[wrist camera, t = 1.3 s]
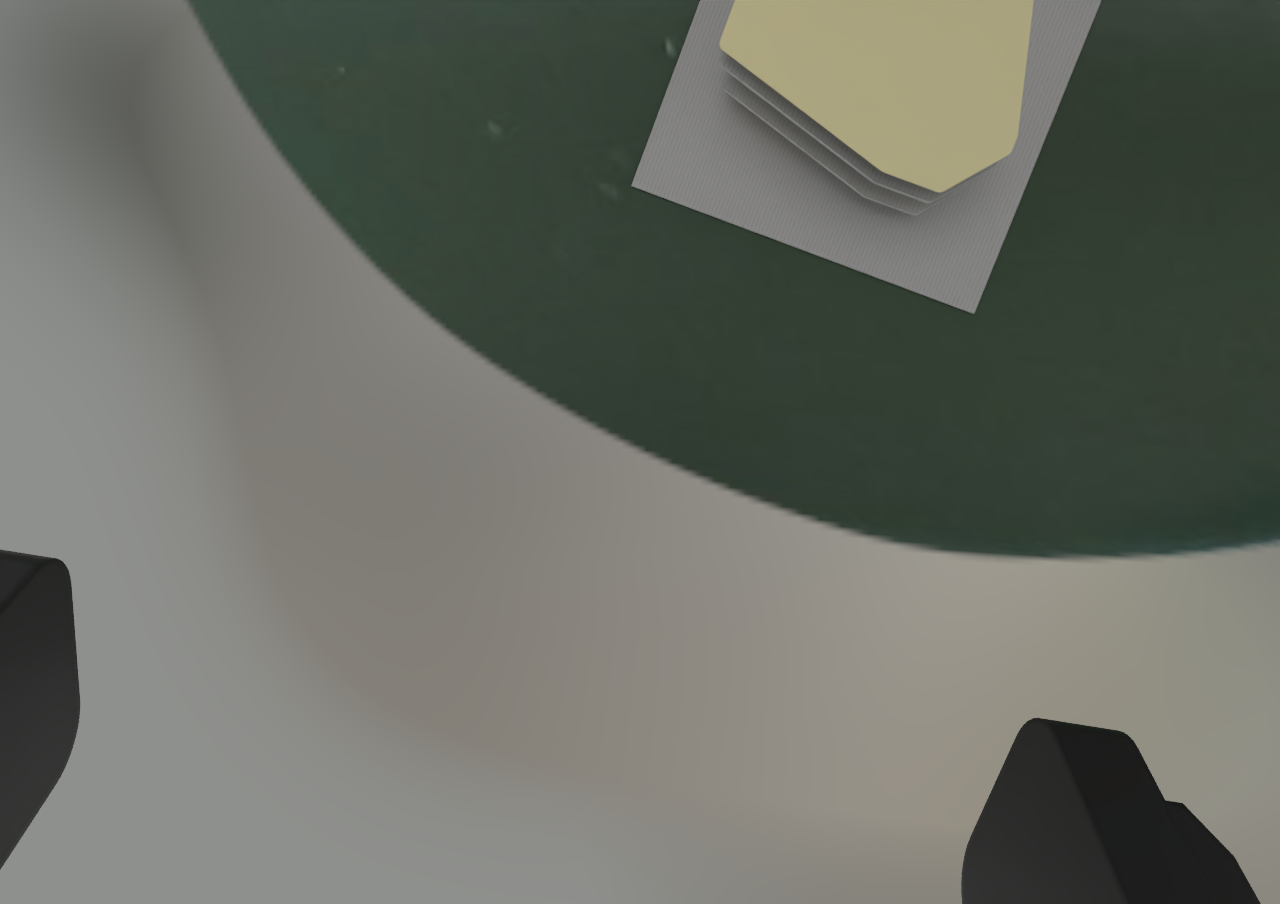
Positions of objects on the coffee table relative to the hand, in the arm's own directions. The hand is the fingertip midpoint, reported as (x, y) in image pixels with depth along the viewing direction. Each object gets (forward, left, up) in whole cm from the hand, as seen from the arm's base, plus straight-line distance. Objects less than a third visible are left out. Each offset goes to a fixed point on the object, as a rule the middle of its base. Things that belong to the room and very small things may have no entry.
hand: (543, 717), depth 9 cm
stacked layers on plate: (-12, +1, -22) cm, 25 cm away
